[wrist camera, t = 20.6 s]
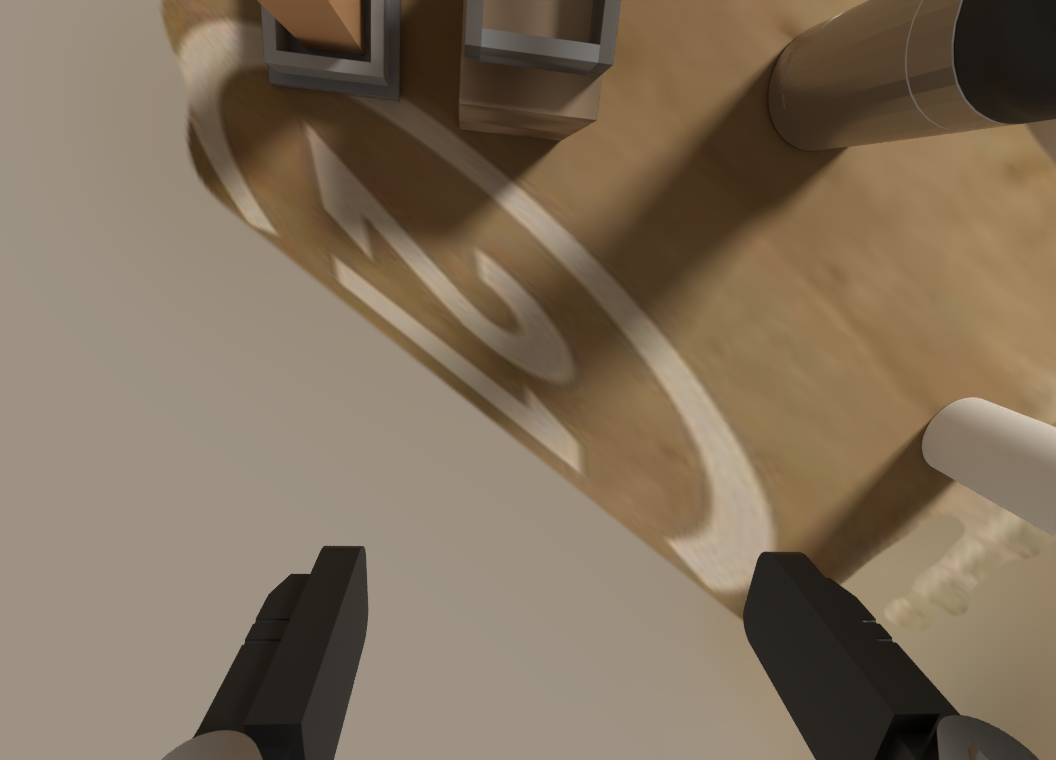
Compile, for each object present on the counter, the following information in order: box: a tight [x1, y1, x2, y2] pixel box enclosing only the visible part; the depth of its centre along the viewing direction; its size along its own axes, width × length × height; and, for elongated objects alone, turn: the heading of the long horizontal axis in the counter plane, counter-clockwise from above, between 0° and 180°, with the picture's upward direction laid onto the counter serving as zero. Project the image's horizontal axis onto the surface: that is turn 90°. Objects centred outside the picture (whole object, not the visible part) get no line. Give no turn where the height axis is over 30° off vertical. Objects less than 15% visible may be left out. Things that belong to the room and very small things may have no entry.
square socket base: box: [459, 0, 621, 141], centre depth 33 cm, size 8×12×15 cm, turn 175°
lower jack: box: [261, 0, 401, 101], centre depth 36 cm, size 9×9×4 cm
